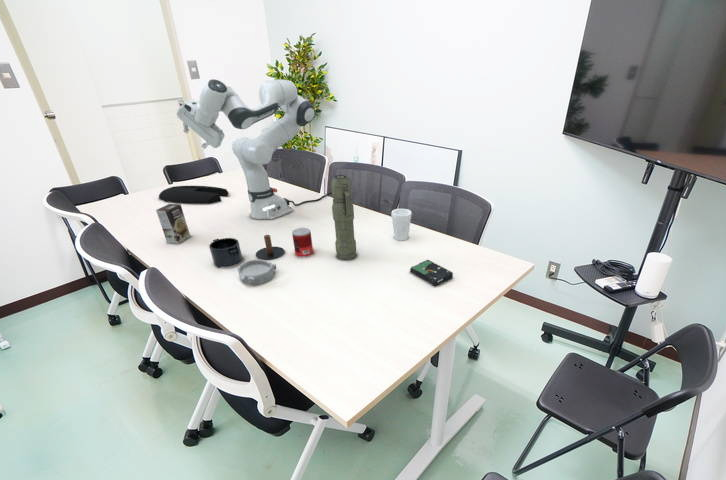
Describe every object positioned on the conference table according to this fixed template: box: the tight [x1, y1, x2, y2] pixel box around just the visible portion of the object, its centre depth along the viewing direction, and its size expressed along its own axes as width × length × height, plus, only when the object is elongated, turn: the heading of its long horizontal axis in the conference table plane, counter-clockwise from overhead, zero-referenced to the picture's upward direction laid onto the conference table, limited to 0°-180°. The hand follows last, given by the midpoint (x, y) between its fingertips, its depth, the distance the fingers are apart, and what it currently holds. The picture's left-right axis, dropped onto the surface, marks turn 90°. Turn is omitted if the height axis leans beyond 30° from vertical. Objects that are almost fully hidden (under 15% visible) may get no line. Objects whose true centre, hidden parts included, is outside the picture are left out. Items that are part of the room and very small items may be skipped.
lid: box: [255, 234, 286, 261], centre depth 171 cm, size 12×12×9 cm
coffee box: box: [155, 203, 191, 245], centre depth 181 cm, size 9×6×16 cm
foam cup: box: [390, 208, 413, 241], centre depth 186 cm, size 10×9×13 cm
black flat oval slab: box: [158, 185, 229, 205], centre depth 234 cm, size 25×41×5 cm, turn 82°
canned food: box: [291, 227, 314, 258], centre depth 171 cm, size 8×8×11 cm
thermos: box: [331, 174, 357, 261], centre depth 163 cm, size 9×12×35 cm
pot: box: [208, 237, 244, 269], centre depth 165 cm, size 11×17×8 cm
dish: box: [237, 258, 277, 286], centre depth 155 cm, size 14×14×5 cm
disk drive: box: [409, 259, 454, 287], centre depth 159 cm, size 10×3×15 cm
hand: (194, 139), depth 175 cm, fingers open, 8 cm apart
